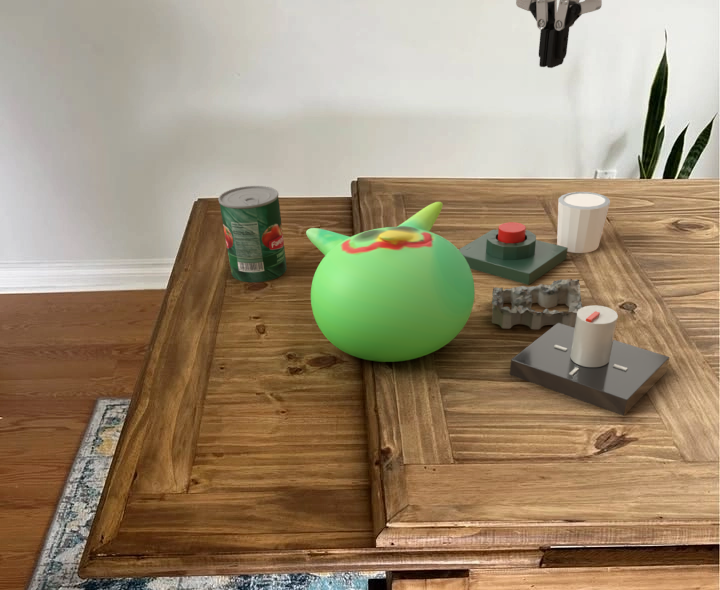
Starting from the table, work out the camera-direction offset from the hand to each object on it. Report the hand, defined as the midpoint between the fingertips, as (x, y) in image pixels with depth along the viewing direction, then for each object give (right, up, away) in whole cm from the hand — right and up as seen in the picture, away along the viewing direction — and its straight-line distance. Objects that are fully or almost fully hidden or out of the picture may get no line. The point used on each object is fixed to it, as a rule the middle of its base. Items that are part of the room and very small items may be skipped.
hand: (551, 64), depth 91 cm
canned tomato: (-38, -23, +12) cm, 46 cm away
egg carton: (-3, -33, -3) cm, 33 cm away
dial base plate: (0, -41, -13) cm, 43 cm away
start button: (-3, -19, +7) cm, 21 cm away
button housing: (-3, -22, +10) cm, 24 cm away
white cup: (+7, -19, +13) cm, 24 cm away
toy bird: (-20, -37, -6) cm, 42 cm away
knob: (0, -39, -15) cm, 42 cm away
